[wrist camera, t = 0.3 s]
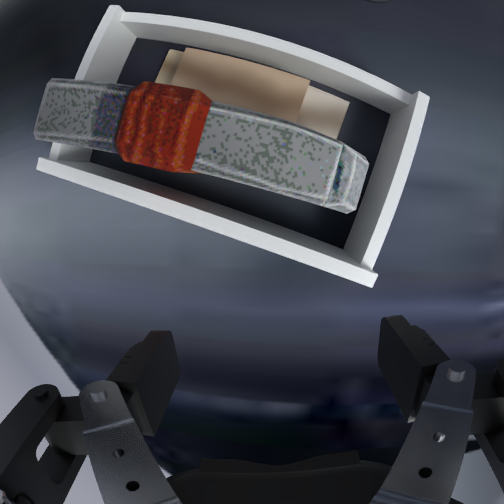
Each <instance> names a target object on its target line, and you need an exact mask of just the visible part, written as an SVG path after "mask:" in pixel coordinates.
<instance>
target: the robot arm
mask: <svg viewBox="0 0 504 504" xmlns="http://www.w3.org/2000/svg"><path fill="white" fill-rule="evenodd" d="M369 1H374V2H386V1H389V0H369ZM378 364H379V367H380V369H381V371H382V373H383V375H384V377H385V379H386V381H387V383H388V385H389V387H390V389H391V391H392V393H393V395H394V397H395V399H396V401H397V403H398V405H399V407H400V409H401V411H402V413H403V415H404V417H405V419H406V421H407V423H409V422H413V421H414V423H413V426H412V428H411V430H410V432H409V434H408V437H407V439H406V441H405V443H404V445H403V447H402V449H401V451H400V453H399V455H398V457H397V459H396V461H395V463H394V465H393V467H391V466H389V465H385V464H382V463H377V462H371V461H360V459H359V455H358V452H357V451H351V452H344V453H337V454H329V455H320V456H317V457H313V458H310V459H306V460H303V461H299V462H295V463H292V464H288V465H284V466H273V465H266V464H260V463H254V462H249V461H244V460H232V459H206V458H201V463H200V467H199V469H193V470H188V471H184V472H181V473H177V474H175V475H172V476H170V477H168V478H165V476H164V475H163V473H162V471H161V469H160V467H159V466H158V464H157V462H156V460H155V459H154V457H153V455H152V453H151V451H150V449H149V448H148V446H147V444H146V442H145V440H144V438H143V436H142V435H148V436H155V434H156V431H157V429H158V427H159V424H160V422H161V419H162V417H163V415H164V412H165V410H166V408H167V405H168V403H169V401H170V398H171V396H172V394H173V391H174V389H175V387H176V384H177V382H178V379H179V373H180V369H179V362H178V358H177V354H176V349H175V344H174V340H173V335H172V333H171V331H158V330H152V331H150V332H149V334H148V335H147V336H146V338H145V339H144V341H143V342H139V343H137V344H136V345H134V346H133V347H131V348H130V349H129V350H128V351H127V353H126V354H125V355H124V357H123V358H122V359H121V361H120V363H118V365H117V366H116V367H115V369H114V370H113V371H112V373H111V374H110V375H109V377H108V378H107V379H106V380H102V381H96V382H93V383H90V384H88V385H86V386H85V387H84V388H83V389H82V390H81V391H80V393H79V396H72V397H61V395H60V392H59V391H58V388H57V387H56V386H54V385H51V384H43V385H39V386H36V387H34V388H33V389H31V390H29V391H28V392H27V394H26V395H25V396H24V397H23V398H22V399H21V400H20V402H19V403H18V404H17V405H16V406H15V407H14V408H13V409H12V411H11V412H10V413H9V414H8V415H7V417H6V418H5V419H4V420H3V421H2V423H1V424H0V504H63V503H64V501H65V499H66V497H67V495H68V492H69V490H70V488H71V486H72V484H73V482H74V480H75V478H76V476H77V474H78V472H79V470H80V468H81V466H82V464H83V462H84V460H85V458H86V456H87V455H89V458H90V461H91V465H92V468H93V471H94V474H95V478H96V481H97V483H98V487H99V490H100V492H101V495H102V498H103V501H104V503H105V504H463V503H461V502H459V501H457V500H455V499H453V498H451V495H452V492H453V490H454V487H455V483H456V480H457V477H458V474H459V471H460V467H461V464H462V460H463V457H464V453H465V449H466V445H467V441H468V437H469V435H474V436H475V438H476V440H477V441H478V443H479V445H480V447H481V449H482V451H483V452H484V454H485V456H486V458H487V460H488V462H489V464H490V466H491V468H492V470H493V471H494V474H495V476H496V478H497V480H498V482H499V484H500V486H501V488H502V490H503V492H504V358H503V359H501V360H500V361H499V362H498V363H497V366H496V369H495V372H491V373H476V370H475V368H474V367H473V366H472V365H471V364H469V363H467V362H465V361H461V360H450V359H449V358H448V356H447V355H446V354H445V353H444V352H443V351H442V349H441V348H440V347H439V346H438V345H437V344H436V343H435V342H434V340H433V339H431V337H430V336H429V335H428V334H427V333H426V332H425V331H424V330H423V329H421V328H419V327H417V326H415V325H413V326H411V325H410V324H409V323H408V321H407V320H406V319H405V318H404V317H403V316H402V315H397V316H389V317H383V318H382V320H381V326H380V337H379V346H378ZM44 436H45V438H46V440H47V441H48V443H49V446H48V447H47V449H46V450H45V452H44V454H43V455H42V457H41V458H40V460H39V461H38V460H37V458H36V449H37V447H38V445H39V444H40V442H41V441H42V439H43V438H44Z"/></svg>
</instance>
